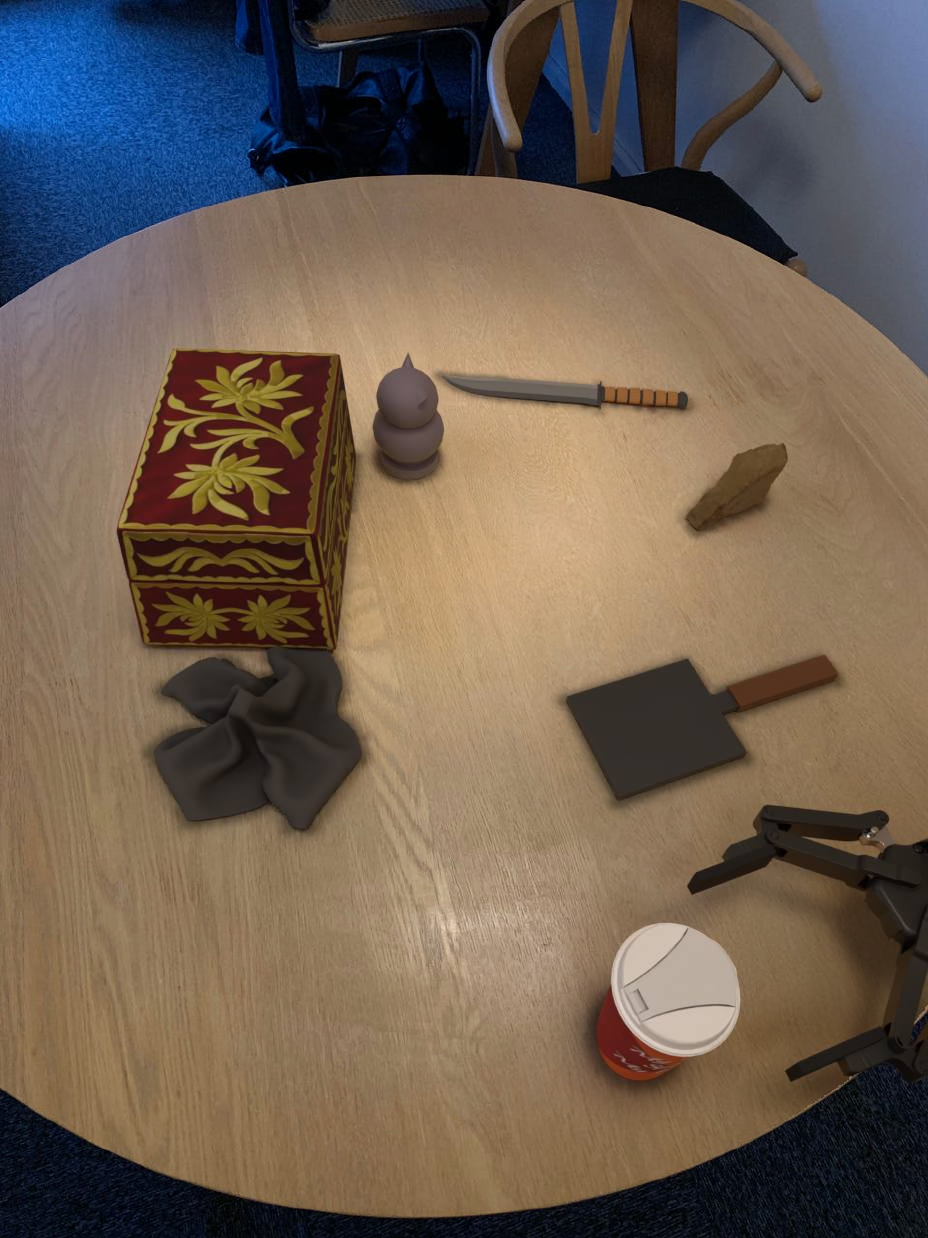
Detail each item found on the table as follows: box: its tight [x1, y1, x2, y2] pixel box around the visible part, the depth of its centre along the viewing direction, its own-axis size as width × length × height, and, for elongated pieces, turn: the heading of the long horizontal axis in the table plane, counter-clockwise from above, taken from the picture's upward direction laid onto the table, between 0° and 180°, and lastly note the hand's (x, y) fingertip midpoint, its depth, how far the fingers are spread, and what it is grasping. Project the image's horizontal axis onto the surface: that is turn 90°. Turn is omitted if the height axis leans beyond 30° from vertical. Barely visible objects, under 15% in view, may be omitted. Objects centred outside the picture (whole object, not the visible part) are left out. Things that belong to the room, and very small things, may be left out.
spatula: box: [566, 654, 840, 801], centre depth 88 cm, size 11×26×1 cm, turn 111°
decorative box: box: [116, 348, 357, 650], centre depth 92 cm, size 28×19×15 cm
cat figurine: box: [372, 352, 445, 481], centre depth 102 cm, size 8×8×12 cm
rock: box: [685, 442, 789, 531], centre depth 102 cm, size 11×9×10 cm
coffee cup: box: [595, 922, 741, 1081], centre depth 64 cm, size 8×8×15 cm
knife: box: [441, 374, 689, 410], centre depth 114 cm, size 30×1×5 cm
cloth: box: [153, 647, 363, 830], centre depth 83 cm, size 22×19×6 cm
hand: (740, 973), depth 65 cm, fingers open, 13 cm apart
